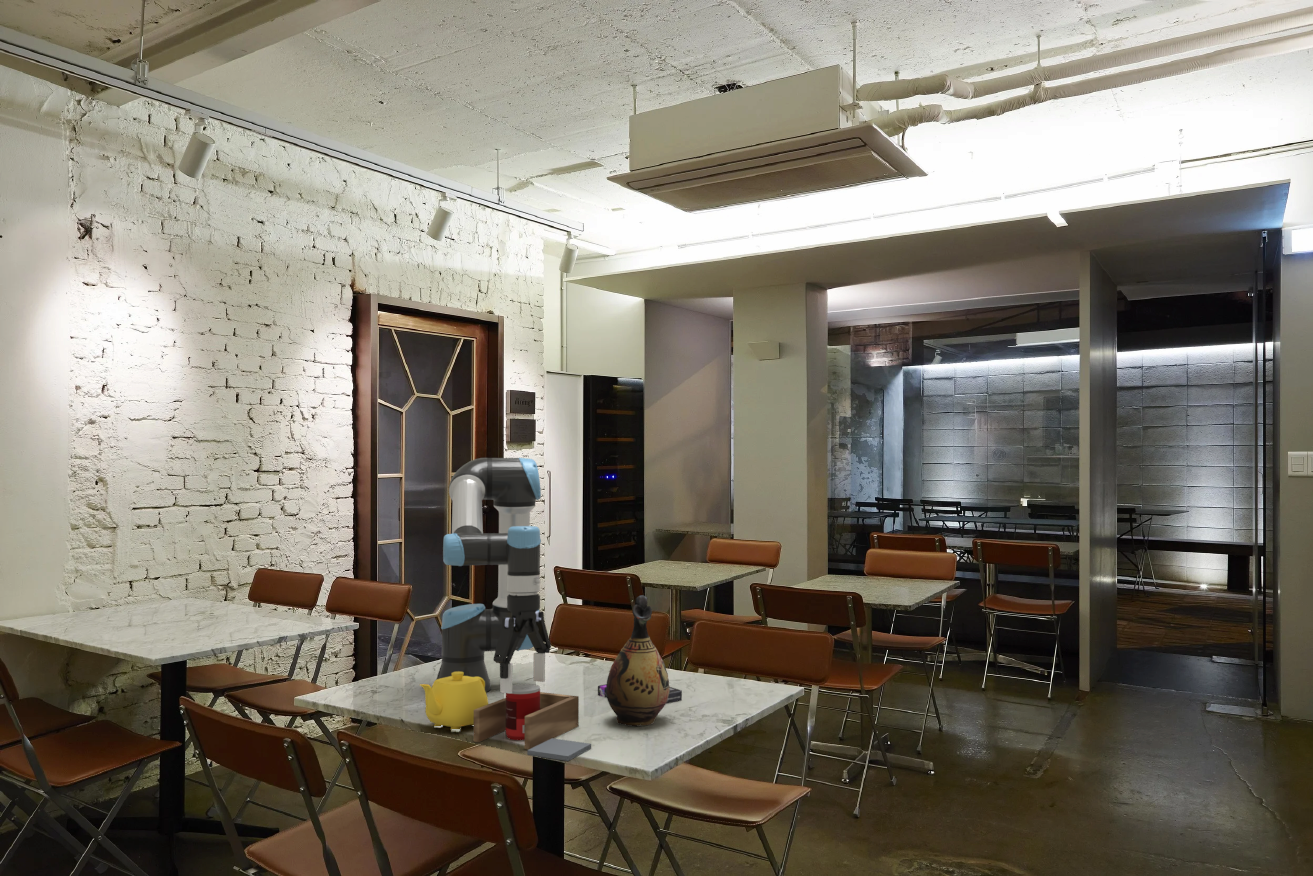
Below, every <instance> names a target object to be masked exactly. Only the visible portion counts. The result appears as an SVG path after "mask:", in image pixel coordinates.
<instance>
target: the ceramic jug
mask: <svg viewBox="0 0 1313 876" xmlns="http://www.w3.org/2000/svg"><path fill="white" fill-rule="evenodd" d="M652 613H653V609H652V607H651V605H648V596H645V595H643V594H642V595H639V596H637V597H636V598H635V601H634V605H633V607H632V616H633V629H632V632H631V636H630V637H629V639H627V641H626V643H625V644H624V645H623V647H622V648H621V649H620V651H619V653H618V654H617V656H616V658H615V659H614V660H613V663H612V665H611V667H610V668H609V671H608V676H607V678H606V679H607V680H606V683H605V684H606V696H607V698H606V700H607V702H608V704H609V707H610V708H611V710H612V711H613V713H614V714H615V715H616V722H617V724H618V725H623V726H626V727H635V728H636V727H640V726H641V727H642V726H644V727H645V726H650V725H653V724H654V723H655V721H656V719H657V717H658V715H659V714H660V712H661V711H662V710H663V708H664V707H665V706H666V705H667V704H668V703H667V699H668V695H669V691H670V690H669V688H670V687H671V685H670V681H669V674H668V671H667V668H666V665H665V661H664V660H663V658H662V657H661V655H660V653H659V651H658V649H657V647H656V646H655V644H654V643H653V642H652V640H651V637H650V635H649V633H648V627H647V623H648V621H650V620H651V619H652ZM666 703H667V704H666Z"/></svg>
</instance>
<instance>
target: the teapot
mask: <svg viewBox="0 0 1313 876" xmlns="http://www.w3.org/2000/svg"><path fill="white" fill-rule="evenodd" d="M451 674H452V676H449V677H445V678H440V679H437V678H436V679H437V680H434V681H433V683H432V685H430V684H428V683H427V684H426V683H425V684H423V683H422V684H419V686H420V687H422V688H423V691H424V696H425V697H424V698H425V710H424V711H425V715H426V717H427V719H428V721H429V722H431V723H432V724H434V725H433V726H441V725H443V726H444V727H450V730H451V729H460V728H461V729H462V727H465V726H470V725H474V710H475V709H477V708H480V707H483V706H485V705H488V704H489V699H488V695H487V692H485V681H484V680H483V679H482V678H481V677H470V676H463V675H464V672H459V671H458V672H453V673H451Z"/></svg>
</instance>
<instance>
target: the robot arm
mask: <svg viewBox="0 0 1313 876" xmlns="http://www.w3.org/2000/svg"><path fill="white" fill-rule="evenodd" d="M541 491H542V489H541V480H540V475H539V467H538V464H537V462H536V460H534V459H533V458H527V457H526V458H525V457H480V458H475V459H472V460H470V461H468V462H467V463H465V464H463V465H461V466H460V468H459V469H457V470H456V471H455V473H454V474H453V475H452V477H451V479H450V482H449V486H448V495H449V498H450V499H451V501H452V512H451V513H452V514H451V533H447V534H445V535H444V536H443V543H442V544H443V545H442V546H443V547H442V550H443V551H442V556H443V557H442V559H443V563H444V564H445V565H446V566H458V567H462V566H486V565H488V566H489V565H491V566H493V565H495V566H498V581H497V583H498V584H497V585H498V586H497V587H498V590H497V591H498V592H497V598H495V599H494V600H493V602H492V608H489V609H487V608H486V606H485V604H483V603H469V604H464V605H458V606H455V607H451V608H448V609H446V610H445V611H444V612H443V613H442V620H441V621H442V622H441V627H440V628H441V664H440V667H439V671H438V673H437V677H436V680H437V679H440V678H445V677H449V676H452V674H451V673H453V672H458V671H459V672H464V675H463V676H470V677H481V678H482V679H483V680H484V681H485V692H486V693H487V692H489V691H490V690H491V679H490V676H489V673H488V670H487V667H486V662H485V652H494V655H493V662H495V664H499V678H500V679H499V680H500V681H499V683H500V685H499V686H500V687H499V690H500V691H499V693H503V694H506V693H509V694H511V693H512V685H513V663H512V662H511V660H512V658H513V656H514V653H515V651H516V652H519V651H523V650H524V651H526V650H531V649H533V648H534V650H535V652H533V674H532V675H533V679H532V680H533V682H538V683H539V682H540V683H544V682H546V654H549V653H550V652H551V651H550V649H551V647H552V644H551V641H550V636H549V633H548V630H547V626H546V622H545V615H544V614H545V613H544V611H540V610H541V595H540V593H538V592H540V590H541V577H540V576H541V575H540V574H541V571H540V570H541V544H542V543H541V542H542V539H541V530H540V528H539V527H538V526H535V525H530V524H531V523H530V522H531V511H532V510H533V509H534V508H535V507H536V501H539V500H541V498H542V492H541ZM483 500H487V501H488V500H489V501H490V500H491V501H492V500H493V507H494V508H495V509H496V510H497V511H498V533H495V532H493V533H491V532H490V533H489V532H488V533H484V531H483V530H484V529H483Z"/></svg>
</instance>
